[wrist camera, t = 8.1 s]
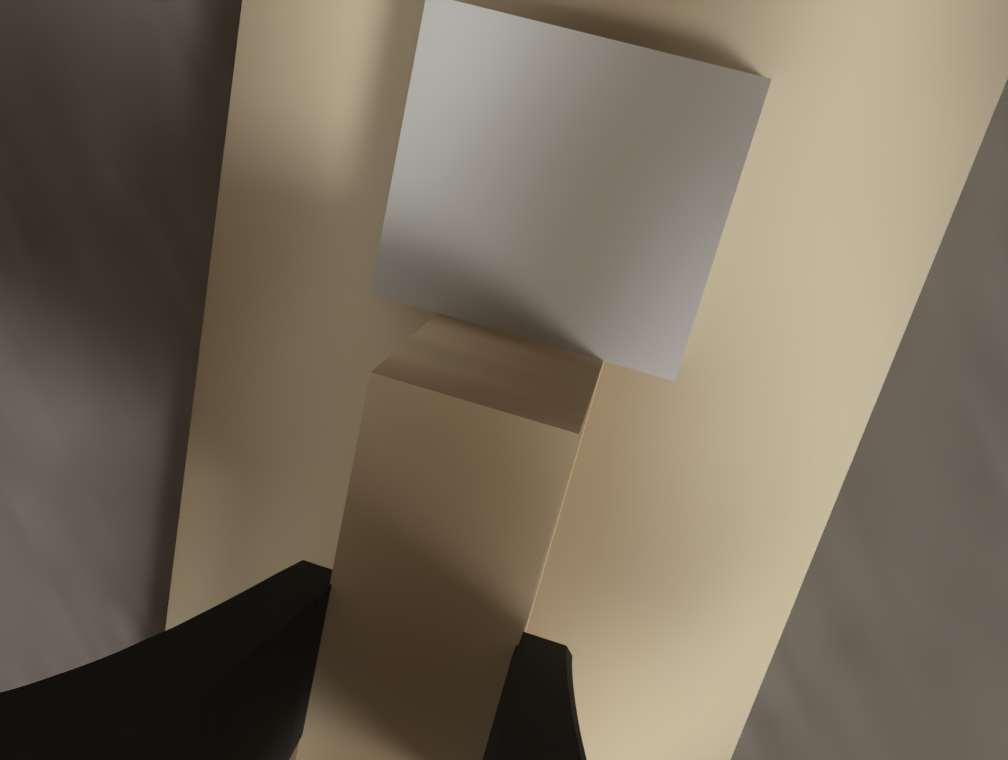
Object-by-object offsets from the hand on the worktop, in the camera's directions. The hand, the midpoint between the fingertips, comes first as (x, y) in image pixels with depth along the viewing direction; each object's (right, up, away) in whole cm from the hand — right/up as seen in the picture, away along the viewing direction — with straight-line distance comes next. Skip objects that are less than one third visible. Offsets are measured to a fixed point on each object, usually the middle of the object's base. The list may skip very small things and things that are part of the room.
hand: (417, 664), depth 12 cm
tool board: (0, 0, +4) cm, 4 cm away
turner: (+1, +2, +3) cm, 3 cm away
